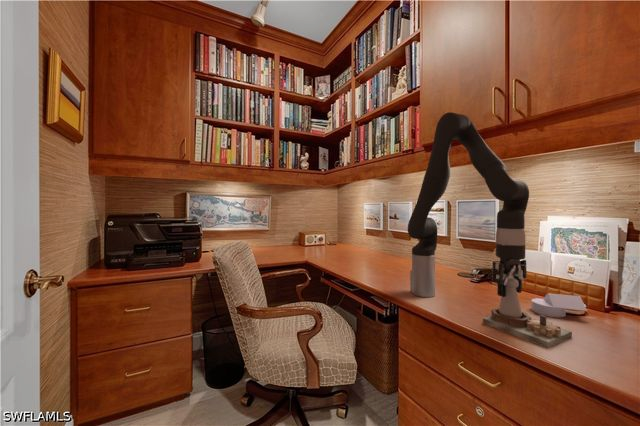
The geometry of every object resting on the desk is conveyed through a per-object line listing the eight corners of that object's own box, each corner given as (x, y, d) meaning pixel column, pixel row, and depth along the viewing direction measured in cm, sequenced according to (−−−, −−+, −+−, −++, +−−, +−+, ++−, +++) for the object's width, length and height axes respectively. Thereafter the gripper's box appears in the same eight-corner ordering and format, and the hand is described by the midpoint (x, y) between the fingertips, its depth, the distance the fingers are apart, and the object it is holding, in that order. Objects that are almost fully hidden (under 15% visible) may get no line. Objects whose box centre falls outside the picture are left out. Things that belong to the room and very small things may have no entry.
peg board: (482, 323, 82) (482, 305, 82) (506, 315, 88) (506, 298, 88) (548, 347, 67) (548, 326, 67) (571, 336, 73) (571, 316, 73)
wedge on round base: (573, 311, 91) (528, 306, 97) (573, 292, 91) (528, 288, 97) (587, 321, 83) (536, 314, 88) (587, 300, 83) (536, 295, 88)
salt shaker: (519, 325, 77) (519, 282, 77) (496, 319, 81) (496, 278, 81) (523, 319, 81) (523, 278, 81) (501, 314, 85) (501, 275, 85)
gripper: (509, 240, 87) (509, 287, 88) (484, 242, 81) (483, 294, 81) (536, 242, 81) (535, 294, 81) (510, 245, 74) (510, 301, 75)
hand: (509, 294), depth 81 cm, fingers open, 8 cm apart
